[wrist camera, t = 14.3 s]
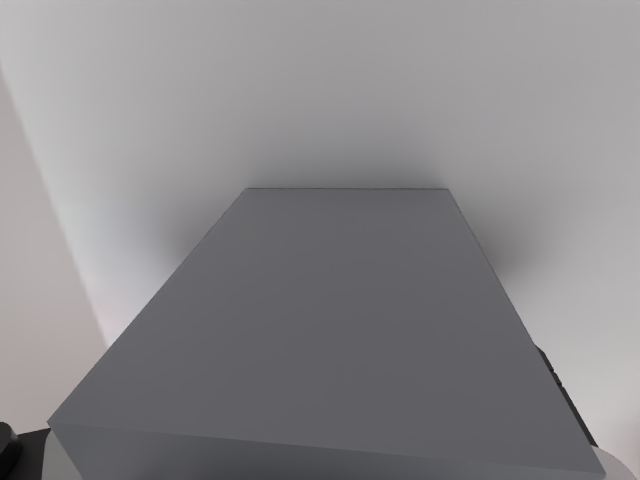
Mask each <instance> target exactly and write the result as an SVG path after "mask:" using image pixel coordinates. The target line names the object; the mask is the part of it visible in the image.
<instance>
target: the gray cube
mask: <svg viewBox="0 0 640 480" xmlns="http://www.w3.org/2000/svg"><path fill="white" fill-rule="evenodd" d="M47 423H48V425H49V426H50V428H51V429H52V431H53V433H54V434H55V436H56V437H57V439H58V440H59V442H60V443H61V445H62V447H63V448H64V450H65V451H66V453H67V454H68V456H69V458H70V459H71V461H72V462H73V464H74V465H75V467H76V468H77V470H78V472H79V473H80V475H81V476H82V478H83V479H84V480H604V478H605V476H606V475H607V474H606V472H605V470H604V468H603V466H602V465H601V463H600V461H599V459H598V457H597V456H596V454H595V452H594V450H593V448H592V447H591V445H590V443H589V441H588V439H587V438H586V436H585V434H584V432H583V430H582V429H581V427H580V425H579V423H578V421H577V420H576V418H575V416H574V414H573V412H572V411H571V409H570V407H569V405H568V403H567V402H566V400H565V398H564V396H563V394H562V393H561V391H560V389H559V387H558V385H557V384H556V382H555V380H554V378H553V376H552V375H551V373H550V371H549V369H548V367H547V366H546V364H545V362H544V360H543V359H542V357H541V355H540V353H539V351H538V350H537V348H536V346H535V344H534V342H533V341H532V339H531V337H530V335H529V333H528V332H527V330H526V328H525V326H524V324H523V323H522V321H521V319H520V317H519V315H518V314H517V312H516V310H515V308H514V306H513V305H512V303H511V301H510V299H509V297H508V296H507V294H506V292H505V290H504V288H503V287H502V285H501V283H500V281H499V279H498V278H497V276H496V274H495V272H494V270H493V269H492V267H491V265H490V263H489V261H488V260H487V258H486V256H485V254H484V252H483V251H482V249H481V247H480V245H479V243H478V242H477V240H476V238H475V236H474V234H473V233H472V231H471V229H470V227H469V225H468V224H467V222H466V220H465V218H464V217H463V215H462V213H461V211H460V209H459V208H458V206H457V204H456V202H455V200H454V199H453V197H452V195H451V193H450V191H449V190H448V189H245V190H244V191H243V192H242V194H241V195H240V196H239V197H238V198H237V199H236V201H235V202H234V203H233V204H232V205H231V207H230V208H229V209H228V210H227V211H226V212H225V214H224V215H223V216H222V217H221V218H220V219H219V221H218V222H217V223H216V224H215V225H214V226H213V228H212V229H211V230H210V231H209V232H208V233H207V235H206V236H205V237H204V238H203V239H202V240H201V242H200V243H199V244H198V245H197V246H196V247H195V249H194V250H193V251H192V252H191V253H190V254H189V256H188V257H187V258H186V259H185V260H184V262H183V263H182V264H181V265H180V266H179V267H178V269H177V270H176V271H175V272H174V273H173V274H172V276H171V277H170V278H169V279H168V280H167V281H166V283H165V284H164V285H163V286H162V287H161V288H160V290H159V291H158V292H157V293H156V294H155V295H154V297H153V298H152V299H151V300H150V301H149V302H148V304H147V305H146V306H145V307H144V308H143V309H142V311H141V312H140V313H139V314H138V315H137V317H136V318H135V319H134V320H133V321H132V322H131V324H130V325H129V326H128V327H127V328H126V329H125V331H124V332H123V333H122V334H121V335H120V336H119V338H118V339H117V340H116V341H115V342H114V343H113V345H112V346H111V347H110V348H109V349H108V350H107V352H106V353H105V354H104V355H103V356H102V358H101V359H100V360H99V361H98V362H97V363H96V364H95V366H94V367H93V368H92V369H91V370H90V371H89V373H88V374H87V375H86V376H85V377H84V379H83V380H82V381H81V382H80V383H79V384H78V386H77V387H76V388H75V389H74V390H73V392H72V393H71V394H70V395H69V396H68V397H67V398H66V400H65V401H64V402H63V403H62V404H61V406H60V407H59V408H58V409H57V410H56V411H55V413H54V414H53V415H52V416H51V417H50V418H49V420H48V421H47Z"/></svg>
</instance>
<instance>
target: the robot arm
mask: <svg viewBox="0 0 640 480" xmlns="http://www.w3.org/2000/svg"><path fill="white" fill-rule="evenodd" d="M535 346H536V345H535ZM536 348H537V350H538V351H539V353H540V355H541V357H542V359H543V360H544V362H545V364H546V366H547V367H548V369H549V371H550V373H551V375H552V376H553V378H554V380H555V382H556V384H557V385H558V387H559V389H560V391H561V393H562V394H563V396H564V398H565V400H566V402H567V403H568V405H569V407H570V409H571V411H572V412H573V414H574V416H575V418H576V420H577V421H578V423H579V425H580V427H581V429H582V430H583V432H584V434H585V436H586V438H587V439H588V441H589V443H590V445H591V447H592V448H593V450H594V452H595V454H596V456H597V457H598V459H599V461H600V463H601V465H602V466H603V468H604V470H605V472H606V474H607V475H606V476H605V478H604V480H637V479H636V477H635V476H634V475H633V473H632V472H631V471H630V470H629V469H628V468H627V467H626V466H625V465H624V464H623V463H622V462H620V461H619V460H618V459H617V458H615V457H614V456H612V455H611V454H609V453H608V452H606V451H604V450H602V449H600V448H599V447H598V445H597V444H596V442H595V441H594V439H593V437H592V435H591V434H590V432H589V430H588V428H587V427H586V425H585V423H584V421H583V420H582V418H581V416H580V414H579V413H578V411H577V409H576V407H575V406H574V404H573V402H572V400H571V399H570V397H569V395H568V394H567V392H566V390H565V388H564V387H562V383H561V381H560V380H559V378H558V376H557V374H556V373H554V369H553V367H552V366H551V364H550V362H549V360H548V359H547V357H546V355H545V353H544V352H543V351H542V350H541V349H540V348H538V347H537V346H536ZM0 480H84V479H83V478H82V476H81V475H80V473H79V472H78V470H77V468H76V467H75V465H74V464H73V462H72V461H71V459H70V458H69V456H68V454H67V453H66V451H65V450H64V448H63V447H62V445H61V443H60V442H59V440H58V439H57V437H56V436H55V434H54V433H53V431H52V429H51V428H47V429H42V430H38V431H33V432H29V433H24V434H19V435H16V434H15V432H14V431H13V430H12V428H11V427H10V426H9V425H8V424H7V423H4V422H0Z"/></svg>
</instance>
